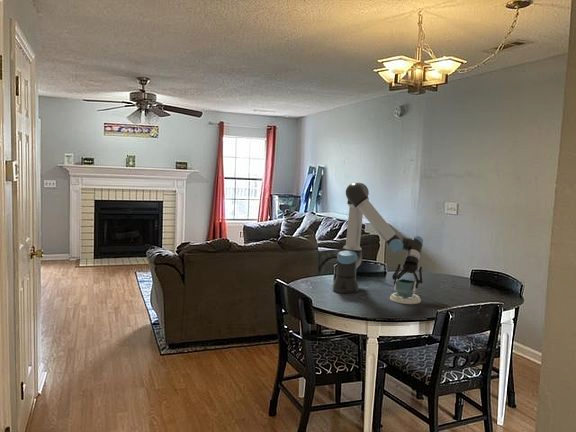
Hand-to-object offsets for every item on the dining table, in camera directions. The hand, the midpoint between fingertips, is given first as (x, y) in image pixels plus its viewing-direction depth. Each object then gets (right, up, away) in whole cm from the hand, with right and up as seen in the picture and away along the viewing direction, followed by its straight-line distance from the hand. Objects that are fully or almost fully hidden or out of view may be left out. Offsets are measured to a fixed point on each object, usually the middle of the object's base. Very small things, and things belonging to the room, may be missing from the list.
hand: (404, 291), depth 276 cm
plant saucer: (+1, -6, +3) cm, 7 cm away
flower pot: (+1, -4, +3) cm, 5 cm away
